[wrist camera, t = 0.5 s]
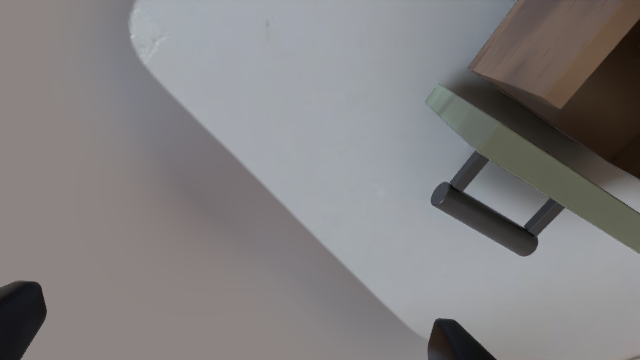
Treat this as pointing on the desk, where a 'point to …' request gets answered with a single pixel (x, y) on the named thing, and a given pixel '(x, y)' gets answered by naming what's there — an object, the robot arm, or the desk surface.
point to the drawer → (553, 115)
